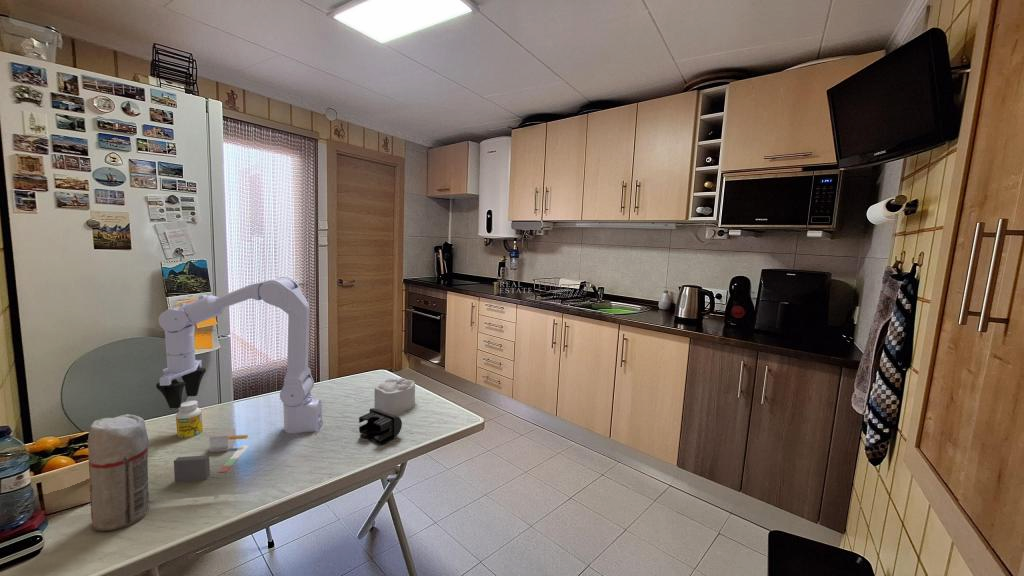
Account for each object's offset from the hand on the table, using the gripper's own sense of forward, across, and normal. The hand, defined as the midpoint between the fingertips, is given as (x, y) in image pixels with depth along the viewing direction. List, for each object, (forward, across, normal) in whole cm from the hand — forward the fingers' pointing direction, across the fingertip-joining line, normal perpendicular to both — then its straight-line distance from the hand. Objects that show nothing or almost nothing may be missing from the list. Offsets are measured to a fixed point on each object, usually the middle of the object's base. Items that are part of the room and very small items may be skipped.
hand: (184, 401), depth 104 cm
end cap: (+10, +6, +51) cm, 52 cm away
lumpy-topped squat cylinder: (+10, -14, +54) cm, 57 cm away
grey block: (+9, +9, +15) cm, 19 cm away
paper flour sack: (+10, +32, +6) cm, 34 cm away
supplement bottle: (+10, 0, +1) cm, 10 cm away
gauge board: (+10, +15, +13) cm, 22 cm away
